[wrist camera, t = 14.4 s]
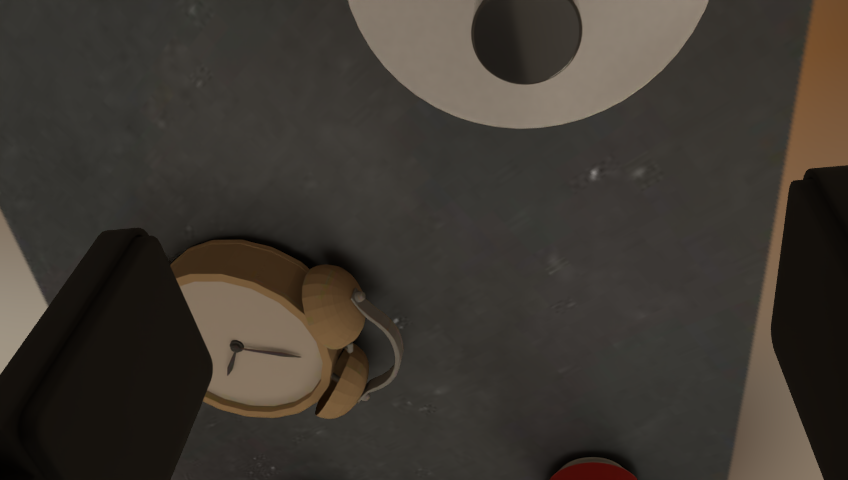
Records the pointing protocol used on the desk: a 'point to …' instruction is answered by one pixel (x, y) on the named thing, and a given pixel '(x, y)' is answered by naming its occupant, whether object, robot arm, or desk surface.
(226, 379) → the alarm clock
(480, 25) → the lid
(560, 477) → the beverage can
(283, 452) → the desk surface
